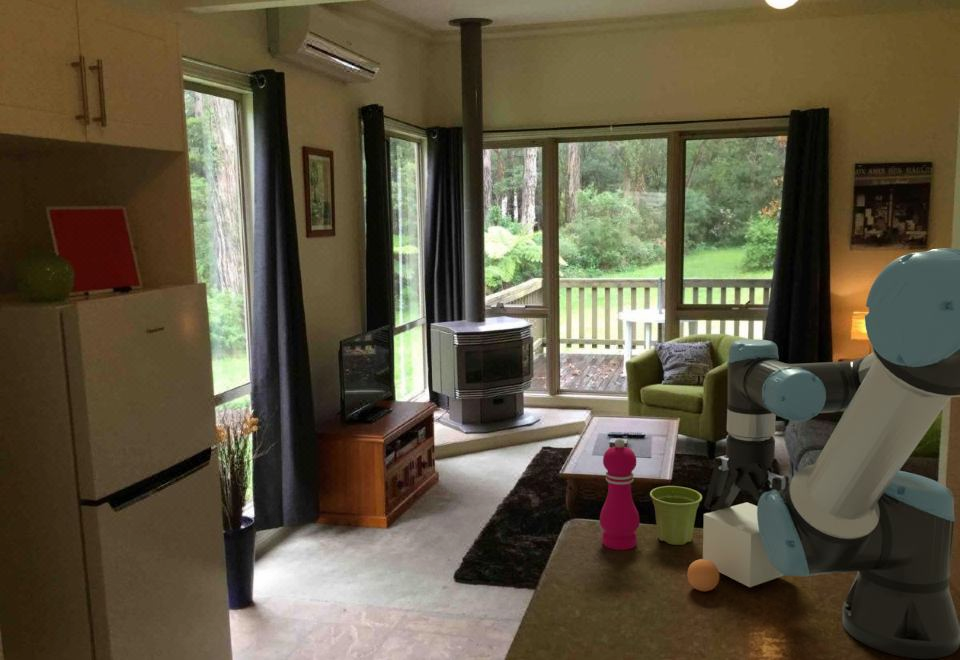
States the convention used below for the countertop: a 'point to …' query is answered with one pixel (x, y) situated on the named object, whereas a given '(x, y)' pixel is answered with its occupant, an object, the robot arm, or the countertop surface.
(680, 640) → the countertop surface
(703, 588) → the ball
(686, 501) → the plant pot
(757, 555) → the cream cuboid
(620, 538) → the pepper mill
